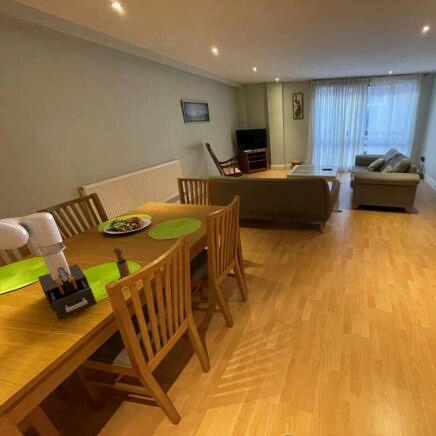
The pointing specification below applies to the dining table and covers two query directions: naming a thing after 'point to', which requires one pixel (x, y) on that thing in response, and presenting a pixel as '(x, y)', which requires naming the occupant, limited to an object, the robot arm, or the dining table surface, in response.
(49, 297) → the dark grey cabinet
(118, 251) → the wooden pepper mill
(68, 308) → the drawer
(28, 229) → the robot arm
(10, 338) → the dining table surface
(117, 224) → the plate of food
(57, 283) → the block
